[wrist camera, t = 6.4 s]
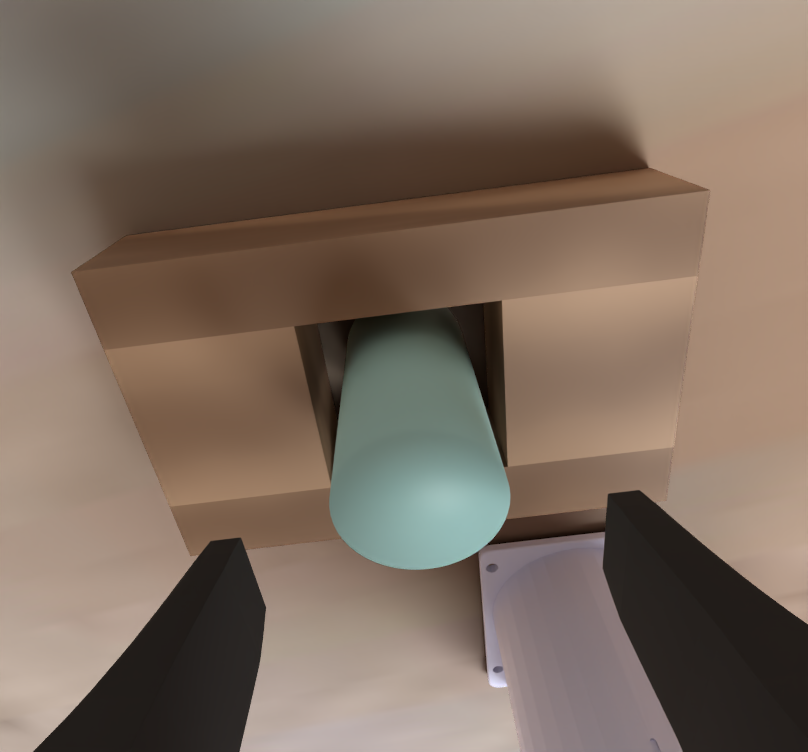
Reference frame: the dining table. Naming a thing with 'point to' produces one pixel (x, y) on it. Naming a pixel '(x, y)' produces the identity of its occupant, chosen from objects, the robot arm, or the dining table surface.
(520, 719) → the robot arm
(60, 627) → the dining table surface
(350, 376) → the peg
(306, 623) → the dining table surface
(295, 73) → the dining table surface
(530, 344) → the socket
